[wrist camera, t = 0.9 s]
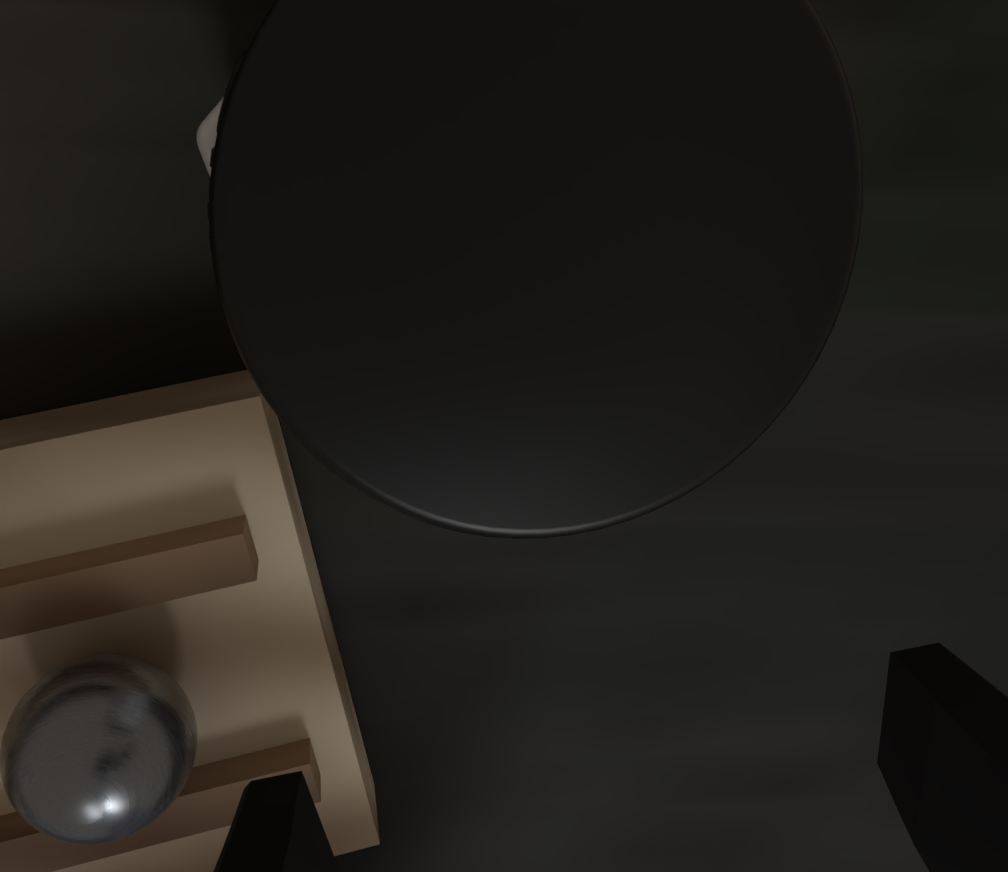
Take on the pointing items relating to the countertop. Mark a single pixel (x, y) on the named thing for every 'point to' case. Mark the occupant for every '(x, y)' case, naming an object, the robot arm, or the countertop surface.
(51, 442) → the board
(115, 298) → the countertop surface
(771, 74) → the jar
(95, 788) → the ball
